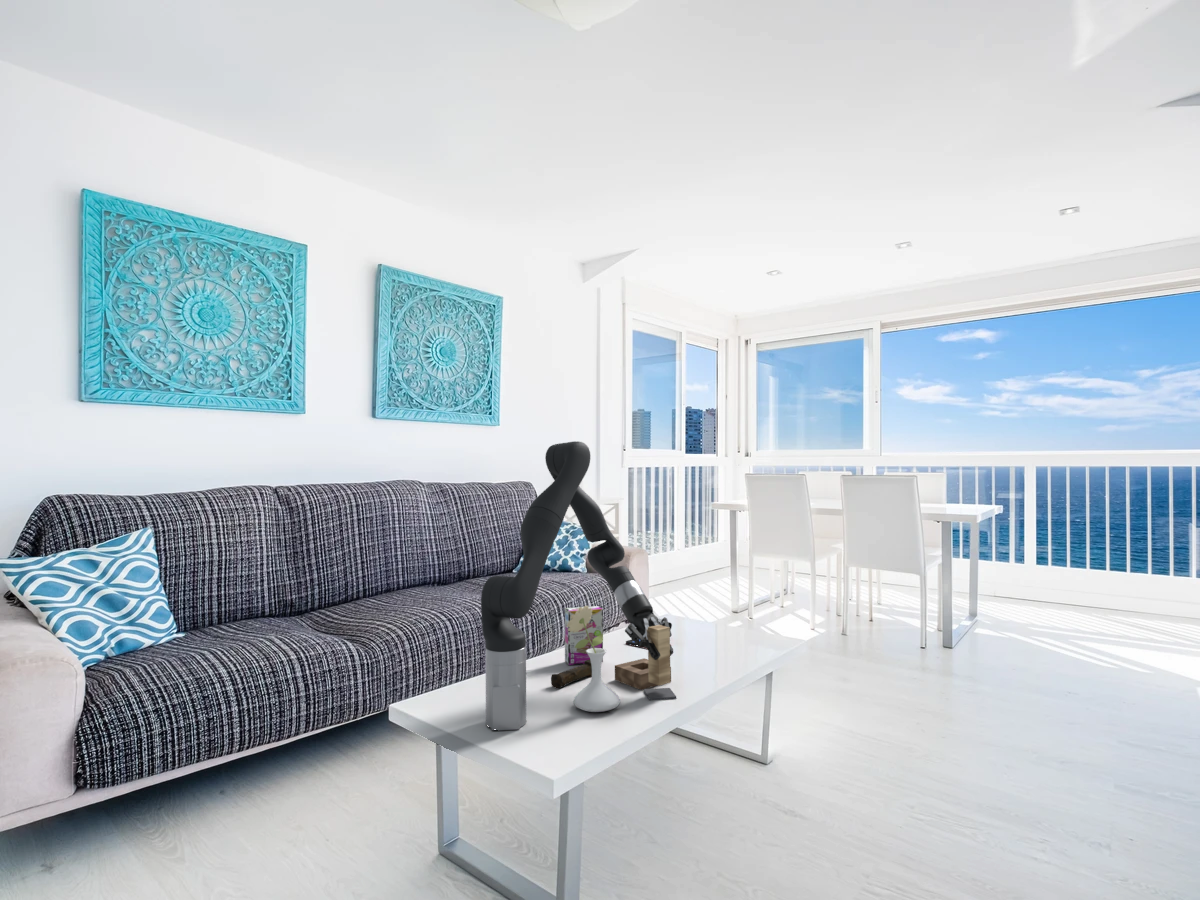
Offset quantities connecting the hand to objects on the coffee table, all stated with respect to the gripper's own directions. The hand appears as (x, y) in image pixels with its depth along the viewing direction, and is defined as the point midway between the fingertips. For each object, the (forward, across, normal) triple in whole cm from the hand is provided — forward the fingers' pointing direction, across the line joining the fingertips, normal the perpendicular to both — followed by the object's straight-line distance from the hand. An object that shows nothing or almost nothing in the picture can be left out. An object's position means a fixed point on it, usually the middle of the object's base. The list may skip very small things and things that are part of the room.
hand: (664, 656), depth 162 cm
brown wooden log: (-11, -9, +26) cm, 30 cm away
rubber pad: (+6, 0, +8) cm, 10 cm away
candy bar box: (-20, +2, +35) cm, 40 cm away
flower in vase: (+4, -19, +11) cm, 22 cm away
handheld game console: (-22, +32, +37) cm, 54 cm away
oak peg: (+4, 0, +6) cm, 7 cm away
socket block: (-2, +4, +17) cm, 17 cm away
